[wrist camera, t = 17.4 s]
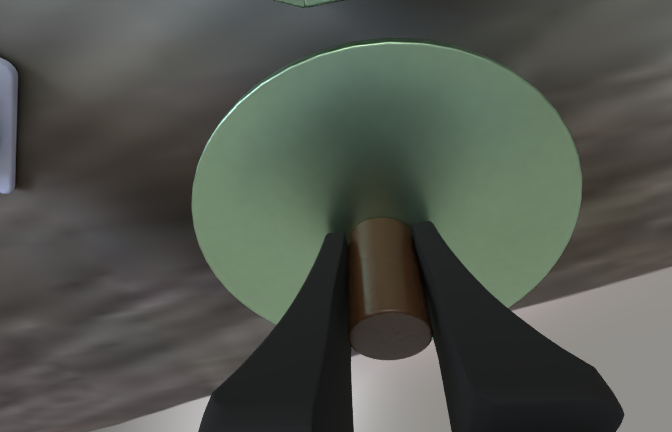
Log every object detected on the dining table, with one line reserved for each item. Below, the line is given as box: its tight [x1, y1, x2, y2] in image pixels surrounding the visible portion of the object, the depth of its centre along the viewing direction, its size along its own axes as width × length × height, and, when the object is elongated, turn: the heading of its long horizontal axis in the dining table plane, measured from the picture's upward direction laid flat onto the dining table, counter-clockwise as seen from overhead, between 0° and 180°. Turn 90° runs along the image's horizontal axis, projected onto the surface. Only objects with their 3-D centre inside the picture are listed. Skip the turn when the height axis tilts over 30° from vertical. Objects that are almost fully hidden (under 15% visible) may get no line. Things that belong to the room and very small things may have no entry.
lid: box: [191, 38, 582, 360], centre depth 12 cm, size 14×14×5 cm
